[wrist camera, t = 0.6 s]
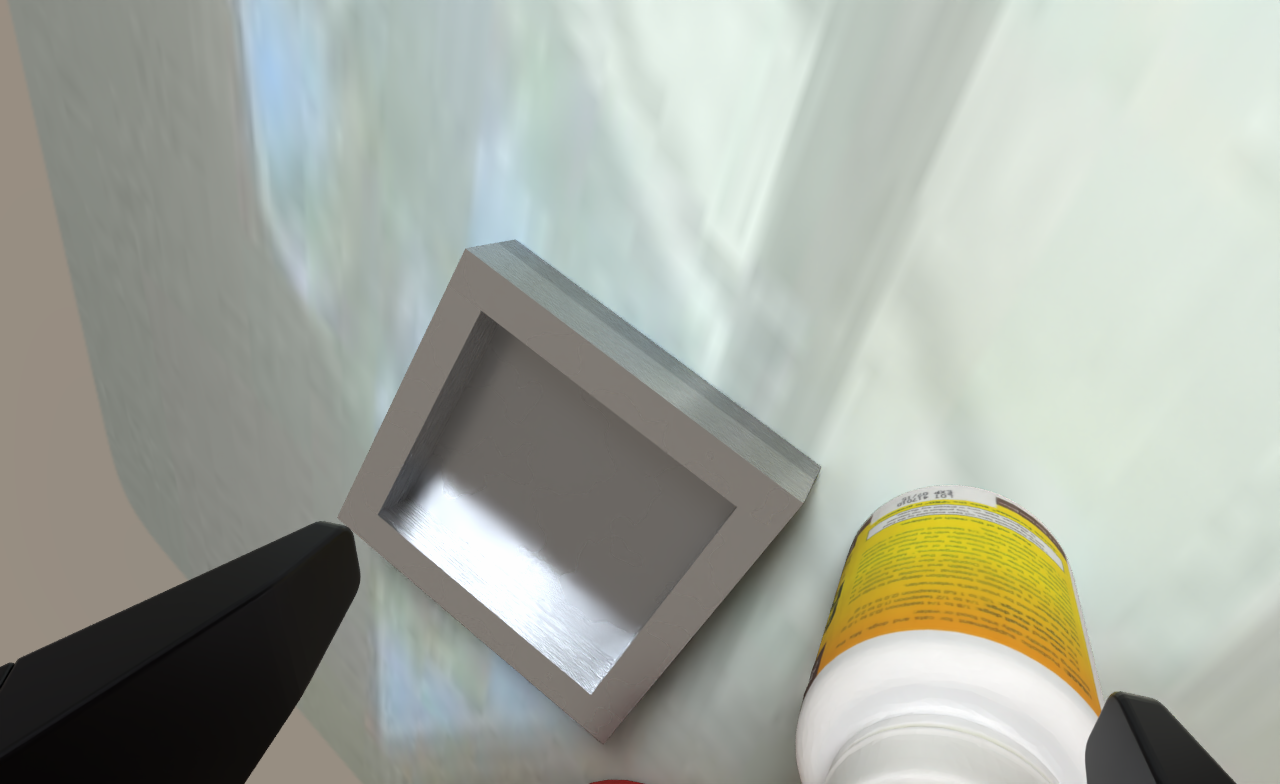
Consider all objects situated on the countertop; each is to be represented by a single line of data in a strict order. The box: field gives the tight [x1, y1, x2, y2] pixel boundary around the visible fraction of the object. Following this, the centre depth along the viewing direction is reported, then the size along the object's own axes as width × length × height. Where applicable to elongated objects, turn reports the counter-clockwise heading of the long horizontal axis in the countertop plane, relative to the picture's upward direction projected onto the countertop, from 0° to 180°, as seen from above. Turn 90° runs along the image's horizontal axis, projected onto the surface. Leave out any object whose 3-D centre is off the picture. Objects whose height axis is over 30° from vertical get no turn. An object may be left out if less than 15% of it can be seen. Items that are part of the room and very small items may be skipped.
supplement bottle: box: [796, 485, 1105, 784], centre depth 17 cm, size 6×6×10 cm
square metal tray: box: [337, 240, 821, 744], centre depth 24 cm, size 11×10×3 cm
